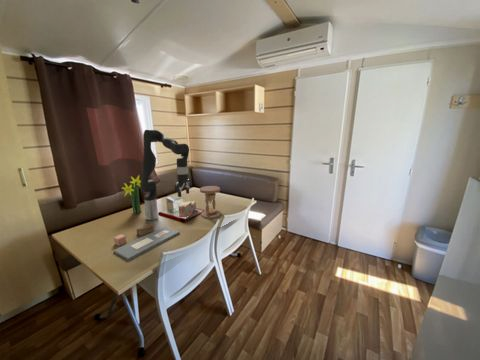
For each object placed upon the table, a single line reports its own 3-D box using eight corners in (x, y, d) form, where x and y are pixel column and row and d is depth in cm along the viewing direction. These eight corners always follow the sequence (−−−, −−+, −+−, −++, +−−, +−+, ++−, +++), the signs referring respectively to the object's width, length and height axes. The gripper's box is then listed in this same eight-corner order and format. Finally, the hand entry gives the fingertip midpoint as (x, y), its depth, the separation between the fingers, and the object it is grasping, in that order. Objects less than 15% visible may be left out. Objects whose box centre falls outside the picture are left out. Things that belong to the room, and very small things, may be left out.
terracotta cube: (114, 244, 134) (113, 237, 133) (122, 240, 138) (121, 234, 137) (118, 246, 131) (117, 239, 130) (126, 242, 135) (125, 236, 134)
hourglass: (213, 221, 168) (212, 192, 163) (196, 216, 177) (195, 189, 171) (224, 213, 183) (224, 187, 178) (209, 210, 192) (208, 184, 186)
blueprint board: (113, 252, 124) (113, 249, 124) (165, 228, 156) (164, 226, 155) (128, 260, 116) (128, 257, 116) (179, 233, 147) (179, 231, 147)
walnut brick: (137, 234, 147) (136, 228, 145) (149, 229, 155) (148, 223, 154) (141, 236, 144) (140, 229, 143) (153, 230, 152) (152, 224, 151)
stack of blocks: (190, 210, 192) (189, 198, 189) (196, 210, 191) (195, 198, 188) (179, 219, 171) (178, 206, 169) (186, 220, 170) (185, 206, 167)
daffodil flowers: (132, 218, 173) (127, 179, 165) (122, 215, 180) (117, 177, 172) (150, 212, 187) (146, 175, 179) (140, 209, 194) (136, 173, 186)
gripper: (184, 170, 148) (185, 191, 152) (171, 174, 135) (172, 197, 139) (193, 171, 145) (194, 193, 149) (180, 175, 132) (181, 198, 136)
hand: (183, 195), depth 144 cm, fingers open, 8 cm apart
